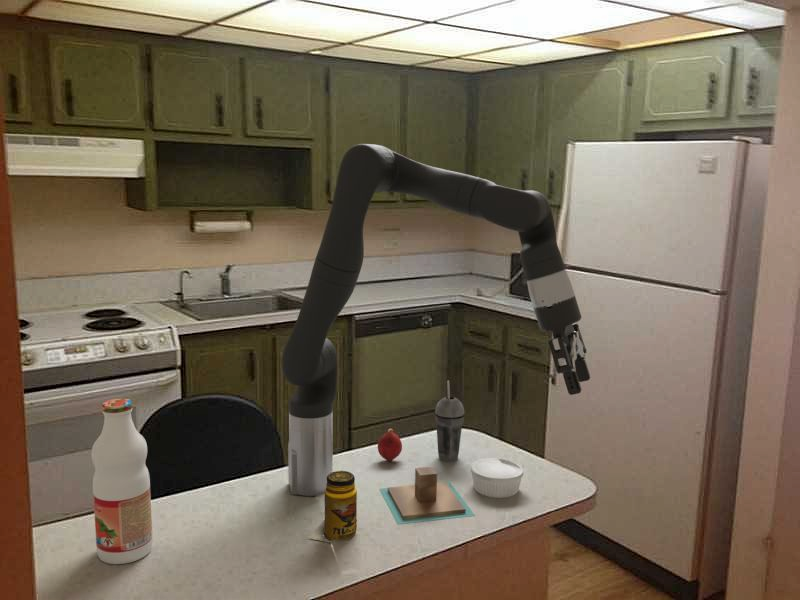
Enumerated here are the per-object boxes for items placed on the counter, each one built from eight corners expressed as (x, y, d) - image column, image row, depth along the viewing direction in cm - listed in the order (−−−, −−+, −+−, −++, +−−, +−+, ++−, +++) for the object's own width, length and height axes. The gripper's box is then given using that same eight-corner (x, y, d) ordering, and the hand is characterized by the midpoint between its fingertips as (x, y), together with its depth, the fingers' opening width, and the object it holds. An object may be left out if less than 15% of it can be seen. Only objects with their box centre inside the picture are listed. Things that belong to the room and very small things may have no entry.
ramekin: (532, 490, 156) (533, 467, 156) (502, 507, 148) (503, 483, 147) (490, 475, 164) (491, 453, 163) (459, 490, 156) (460, 467, 155)
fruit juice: (151, 562, 125) (143, 409, 120) (93, 568, 123) (83, 413, 118) (155, 535, 134) (148, 392, 129) (101, 541, 132) (91, 395, 127)
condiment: (350, 547, 132) (350, 485, 130) (308, 539, 134) (307, 479, 132) (364, 528, 139) (364, 470, 136) (323, 521, 141) (323, 464, 139)
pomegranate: (398, 467, 167) (399, 434, 166) (374, 464, 168) (375, 432, 167) (403, 457, 173) (404, 426, 171) (380, 455, 174) (380, 424, 172)
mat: (397, 526, 139) (397, 524, 139) (379, 490, 155) (379, 488, 155) (475, 517, 143) (475, 515, 143) (449, 484, 159) (449, 481, 159)
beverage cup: (468, 458, 173) (471, 378, 170) (454, 468, 167) (457, 385, 163) (442, 451, 177) (444, 373, 173) (427, 461, 171) (429, 380, 167)
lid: (403, 519, 141) (403, 487, 140) (387, 491, 154) (388, 461, 152) (465, 512, 144) (466, 481, 143) (445, 485, 157) (446, 456, 156)
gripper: (542, 299, 135) (568, 381, 135) (523, 311, 122) (551, 402, 122) (581, 288, 131) (607, 372, 132) (565, 300, 119) (594, 393, 119)
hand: (580, 386), depth 127 cm, fingers open, 8 cm apart
